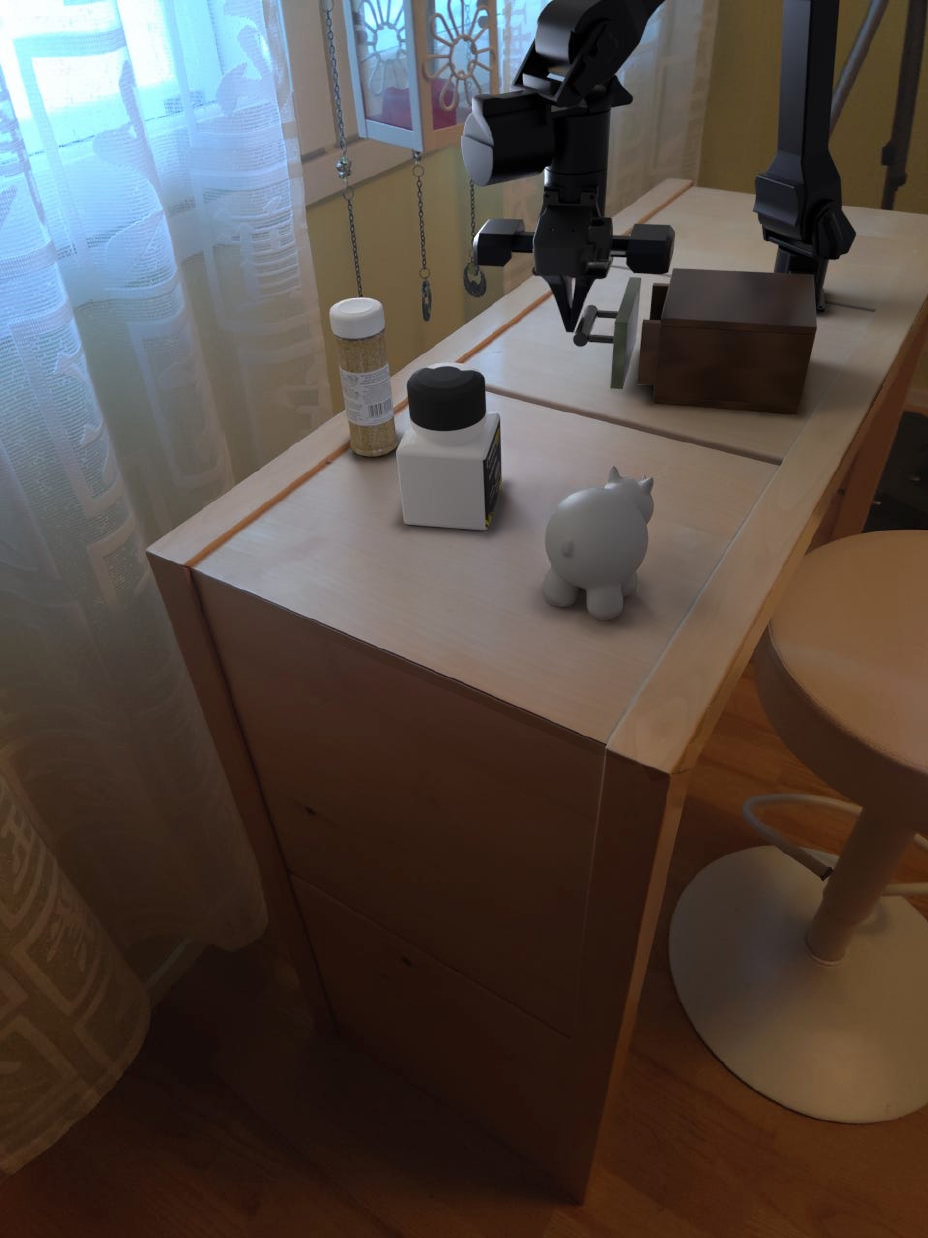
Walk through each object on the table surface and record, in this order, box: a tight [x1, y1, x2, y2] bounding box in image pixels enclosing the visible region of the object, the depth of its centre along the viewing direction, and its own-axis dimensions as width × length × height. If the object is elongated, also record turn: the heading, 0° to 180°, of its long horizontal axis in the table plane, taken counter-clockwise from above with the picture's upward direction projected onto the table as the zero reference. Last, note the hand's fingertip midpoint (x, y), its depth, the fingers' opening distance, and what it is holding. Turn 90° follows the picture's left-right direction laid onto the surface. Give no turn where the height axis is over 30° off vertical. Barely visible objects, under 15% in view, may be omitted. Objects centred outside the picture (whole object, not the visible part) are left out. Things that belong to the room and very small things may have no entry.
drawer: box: [572, 276, 669, 390], centre depth 89 cm, size 17×11×7 cm
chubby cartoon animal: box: [541, 465, 655, 621], centre depth 64 cm, size 7×12×8 cm, turn 146°
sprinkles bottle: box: [329, 297, 399, 458], centre depth 79 cm, size 5×5×14 cm
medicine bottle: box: [395, 361, 503, 532], centre depth 71 cm, size 7×7×12 cm
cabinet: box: [652, 267, 818, 415], centre depth 87 cm, size 14×13×9 cm
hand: (570, 330), depth 91 cm, fingers closed
